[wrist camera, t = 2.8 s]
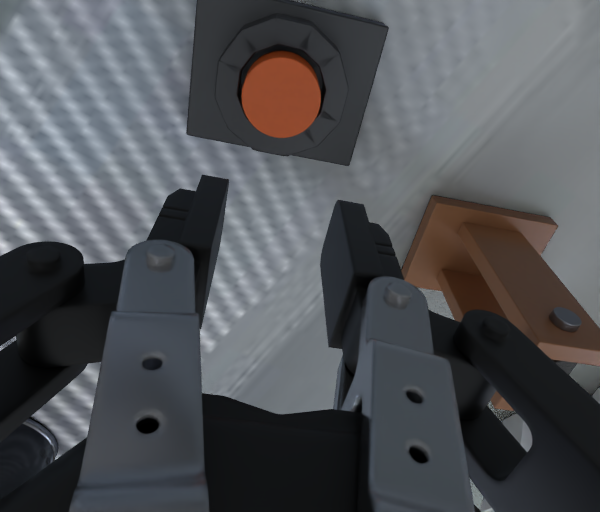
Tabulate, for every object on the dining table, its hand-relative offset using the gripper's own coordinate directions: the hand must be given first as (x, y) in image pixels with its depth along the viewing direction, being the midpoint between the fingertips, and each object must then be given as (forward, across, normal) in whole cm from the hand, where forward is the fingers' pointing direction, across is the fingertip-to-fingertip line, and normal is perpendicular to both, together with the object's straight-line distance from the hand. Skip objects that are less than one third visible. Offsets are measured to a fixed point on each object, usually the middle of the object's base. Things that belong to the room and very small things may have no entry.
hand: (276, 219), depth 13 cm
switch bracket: (+17, -16, +9) cm, 25 cm away
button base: (+17, 0, 0) cm, 17 cm away
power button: (+14, 0, 0) cm, 14 cm away
